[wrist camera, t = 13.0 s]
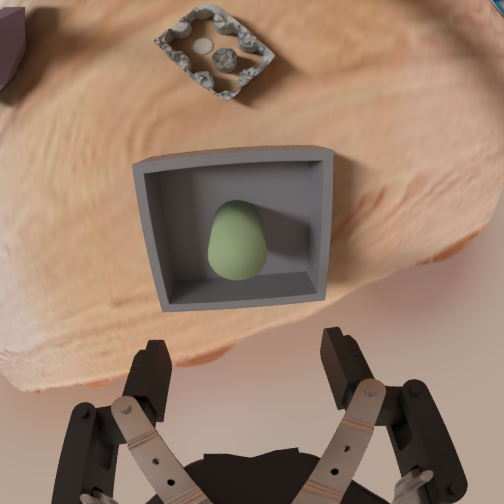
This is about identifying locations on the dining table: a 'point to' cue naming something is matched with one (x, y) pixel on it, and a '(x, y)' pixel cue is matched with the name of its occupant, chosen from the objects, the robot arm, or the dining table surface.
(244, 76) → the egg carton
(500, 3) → the beverage bottle
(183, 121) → the dining table surface
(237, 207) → the green capsule
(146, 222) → the bin
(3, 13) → the flask
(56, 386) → the dining table surface
